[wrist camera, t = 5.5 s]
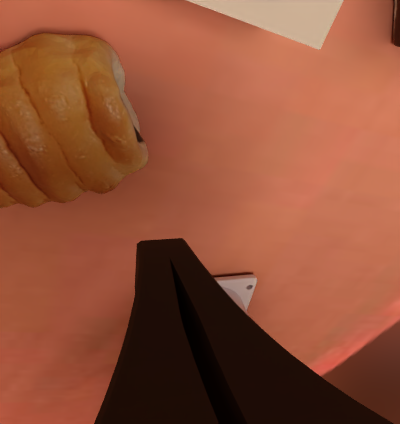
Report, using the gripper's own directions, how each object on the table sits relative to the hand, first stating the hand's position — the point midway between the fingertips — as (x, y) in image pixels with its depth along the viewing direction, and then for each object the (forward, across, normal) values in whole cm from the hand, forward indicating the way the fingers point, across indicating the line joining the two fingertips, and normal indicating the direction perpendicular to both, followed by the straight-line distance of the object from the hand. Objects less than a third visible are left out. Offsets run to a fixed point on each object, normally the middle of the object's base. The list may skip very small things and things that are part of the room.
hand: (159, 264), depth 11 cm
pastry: (+9, +4, -1) cm, 10 cm away
